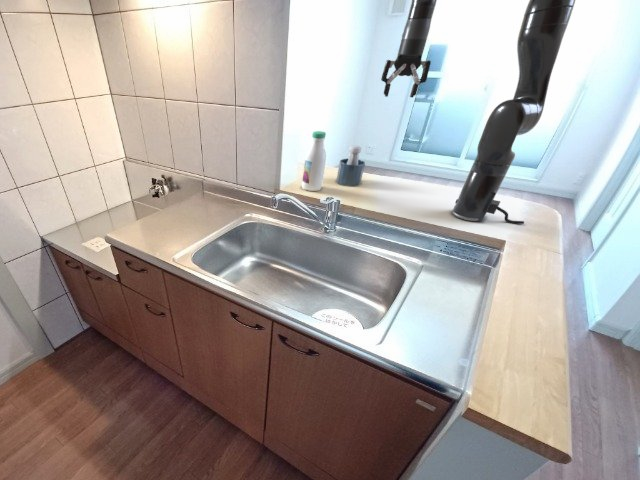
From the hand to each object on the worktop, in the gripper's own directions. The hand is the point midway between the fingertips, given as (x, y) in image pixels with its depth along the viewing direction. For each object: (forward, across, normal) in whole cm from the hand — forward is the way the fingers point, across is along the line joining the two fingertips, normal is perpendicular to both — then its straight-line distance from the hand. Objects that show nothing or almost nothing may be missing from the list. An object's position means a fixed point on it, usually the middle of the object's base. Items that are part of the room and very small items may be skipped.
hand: (398, 96), depth 114 cm
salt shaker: (+30, -11, -2) cm, 32 cm away
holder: (+30, -11, -2) cm, 32 cm away
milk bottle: (+30, -26, -11) cm, 42 cm away
